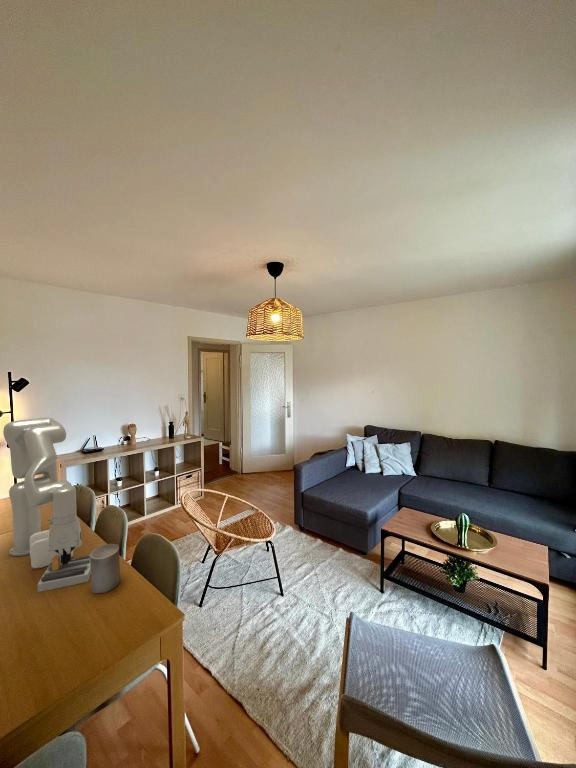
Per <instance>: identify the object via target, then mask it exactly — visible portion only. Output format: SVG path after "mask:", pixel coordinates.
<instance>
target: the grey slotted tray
mask: <svg viewBox="0 0 576 768" xmlns="http://www.w3.org/2000/svg"><path fill="white" fill-rule="evenodd" d="M61 566H62V569H61V570H56V571H51V570H52V563H51V564H49V565H48V566H47V568H46V570H45V571H44V573H43V574H42V577H41V578H40V579H39V581H38V583H37V593H41V592H46V591H50V590H56V589H59V588H64V587H69V586H74V585H78V584H79V585H80V584H84V583H88V582H89V580H90V579H91V567H90V554H89V555H86V556H85V555H84V556H79V557H74V558H71V560H70V561H69V562H68V564H64V565H62V562H61Z"/></svg>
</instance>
